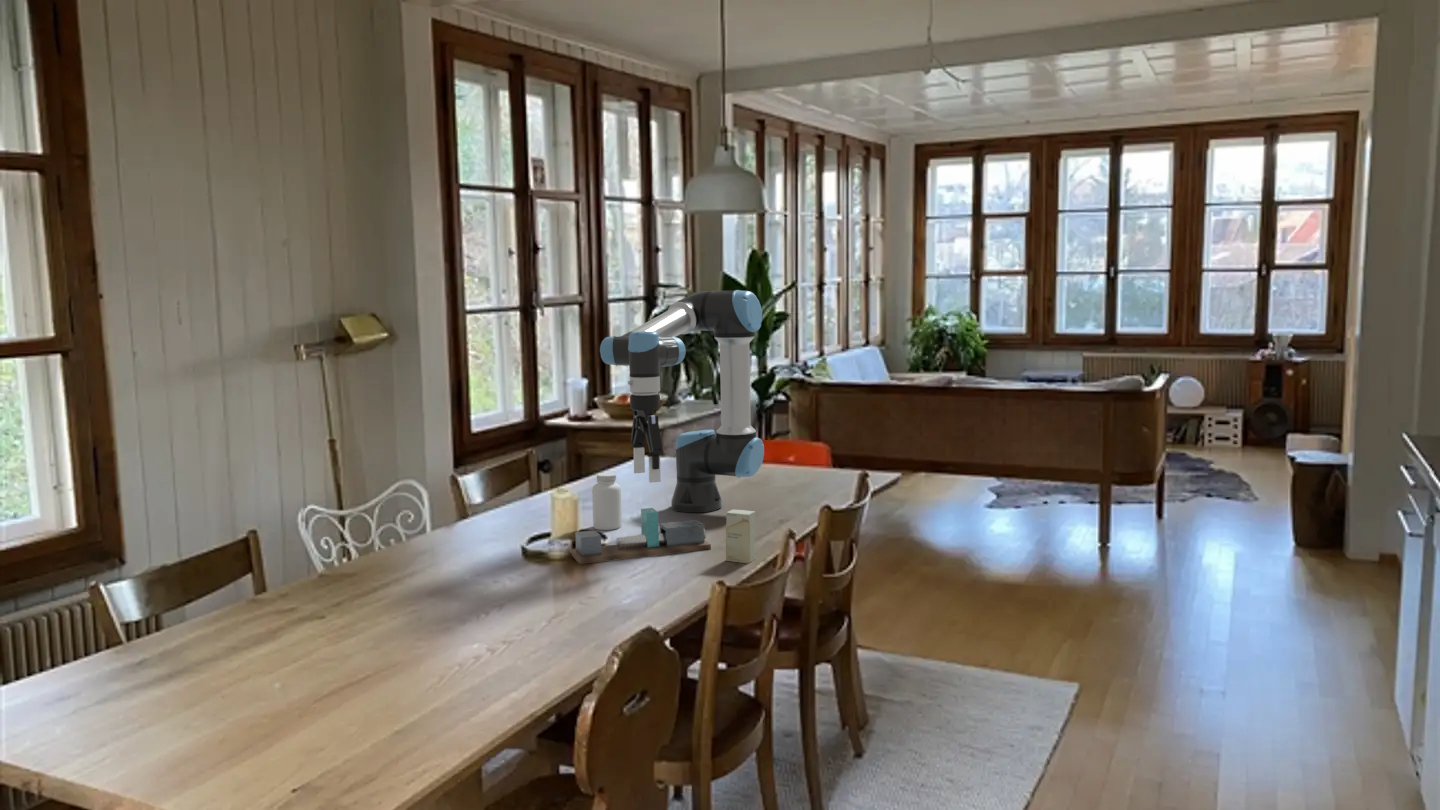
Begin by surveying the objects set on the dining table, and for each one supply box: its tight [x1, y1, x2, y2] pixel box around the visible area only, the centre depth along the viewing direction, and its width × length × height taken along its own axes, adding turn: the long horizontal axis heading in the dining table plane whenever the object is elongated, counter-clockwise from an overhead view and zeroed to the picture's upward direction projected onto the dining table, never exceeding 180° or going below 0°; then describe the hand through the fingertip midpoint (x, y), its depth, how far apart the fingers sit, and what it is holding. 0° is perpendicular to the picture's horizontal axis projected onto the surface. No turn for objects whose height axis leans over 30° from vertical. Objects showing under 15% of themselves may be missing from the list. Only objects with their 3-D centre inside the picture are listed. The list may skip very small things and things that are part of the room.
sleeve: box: [659, 519, 705, 547], centre depth 267 cm, size 10×6×5 cm, turn 111°
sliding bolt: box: [615, 507, 707, 549], centre depth 264 cm, size 23×5×9 cm, turn 111°
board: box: [570, 539, 712, 565], centre depth 263 cm, size 34×10×1 cm, turn 111°
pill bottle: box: [591, 472, 623, 531], centre depth 289 cm, size 8×8×15 cm
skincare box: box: [725, 508, 756, 564], centre depth 253 cm, size 6×4×12 cm
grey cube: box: [575, 529, 602, 557], centre depth 258 cm, size 5×6×5 cm
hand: (647, 477), depth 262 cm, fingers open, 13 cm apart
